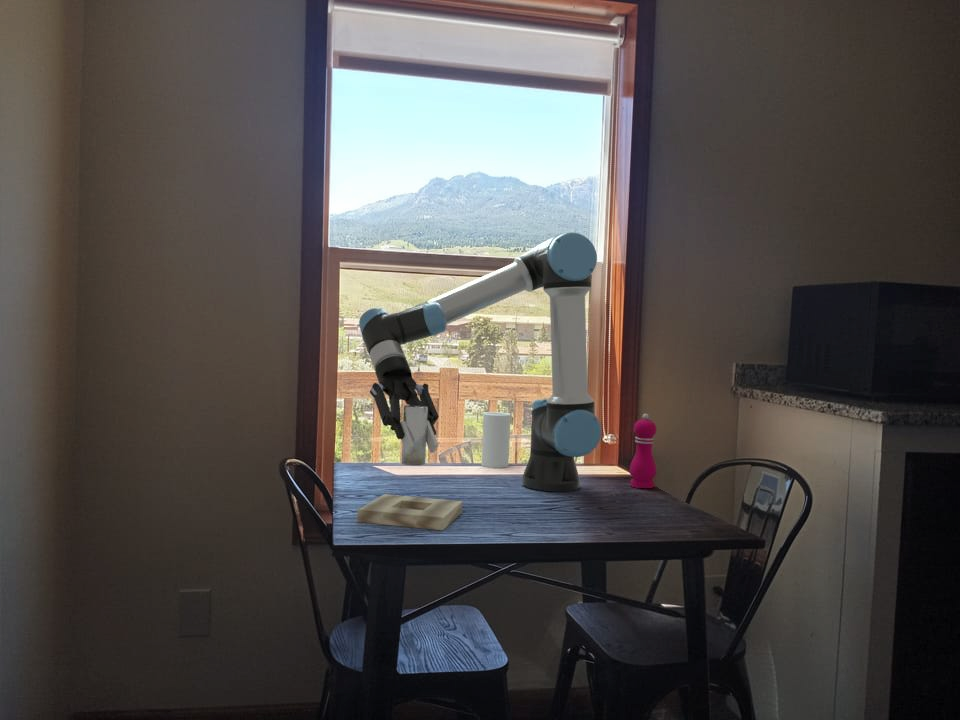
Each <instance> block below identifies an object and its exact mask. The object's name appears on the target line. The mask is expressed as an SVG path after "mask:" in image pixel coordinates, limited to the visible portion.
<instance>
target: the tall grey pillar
mask: <svg viewBox="0 0 960 720" xmlns="http://www.w3.org/2000/svg"><path fill="white" fill-rule="evenodd" d="M427 413H428V407H426V406H419V405H407V404H406V405H404V406H403V416H402V417H403V420H402V421H405V423H406V425H407V428H408V431H409V433H410V436H411V439H412V441H413V444H414V447H413V449H412V451H411V452H410V454H406V452H405V449H404V447H403V444H402V443H401V458H400V459H401V462H400V463H401V464H402V465H404V466H412V467H413V466H414V467H415V466H419V467H420V466H425V465H426V452H427V443H426V435H427Z"/></svg>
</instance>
